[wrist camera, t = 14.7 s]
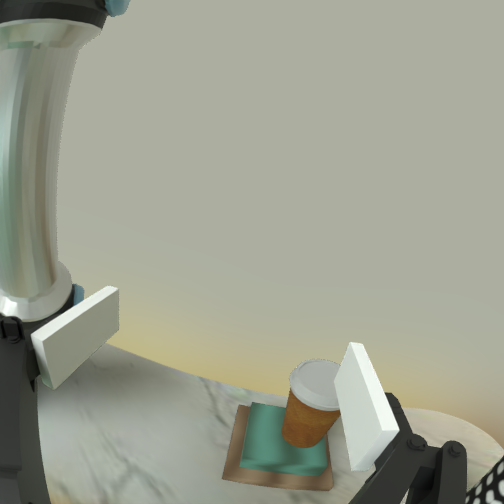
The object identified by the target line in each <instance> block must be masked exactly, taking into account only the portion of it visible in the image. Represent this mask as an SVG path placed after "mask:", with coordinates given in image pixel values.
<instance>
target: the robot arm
mask: <svg viewBox="0 0 504 504" xmlns="http://www.w3.org/2000/svg"><path fill="white" fill-rule="evenodd" d="M129 2H130V0H0V504H51V502H50V498H49V494H48V489H47V484H46V479H45V474H44V468H43V462H42V455H41V447H40V438H39V427H38V409H37V381H36V377H37V376H38V375H39V374H40V375H41V379H42V382H43V384H45V385H46V386H48V387H49V388H51V389H53V390H55V389H56V388H57V387H58V386H59V385H60V384H61V383H62V382H63V381H64V380H66V379H67V378H68V377H69V376H70V375H71V374H72V373H73V372H74V371H75V370H76V369H77V368H78V367H79V366H80V365H81V364H82V363H83V362H84V361H86V360H87V359H88V358H89V357H90V356H91V355H92V354H93V353H94V352H95V351H96V350H97V349H98V348H99V347H101V346H102V345H103V344H104V343H105V342H106V341H107V340H108V339H109V338H110V337H111V336H112V335H113V334H114V333H116V332H117V331H118V330H119V289H118V288H115V287H112V286H109V285H108V286H106V287H105V288H103V289H101V290H100V291H98V292H97V293H95V294H93V295H92V296H90V297H88V298H87V299H85V300H84V289H83V288H82V287H81V286H79V285H76V284H72V281H71V275H70V273H69V271H68V269H67V268H66V267H65V266H64V265H63V264H62V263H61V262H60V261H58V251H57V228H56V193H57V172H58V158H59V148H60V140H61V132H62V125H63V119H64V112H65V107H66V102H67V97H68V92H69V87H70V83H71V79H72V75H73V70H74V67H75V63H76V60H77V56H78V53H79V50H80V49H81V48H82V47H83V46H84V45H85V44H87V43H88V42H89V41H91V40H92V39H94V38H95V37H97V36H98V35H100V33H101V31H102V28H103V25H104V23H105V20H106V18H107V16H108V15H110V16H111V17H115V16H117V15H122V14H124V13H125V11H126V10H127V8H128V5H129ZM334 384H335V389H336V393H337V398H338V403H339V407H340V412H341V417H342V422H343V427H344V432H345V437H346V442H347V448H348V453H349V459H350V464H351V470H352V471H368V470H369V469H370V467H371V466H372V465H373V464H374V463H375V467H376V470H375V472H374V473H373V474H372V475H371V476H370V477H369V478H368V479H367V480H366V481H365V484H364V486H363V487H362V488H361V489H360V491H359V492H358V493H357V494H356V495H355V497H354V498H353V499H352V500H351V501H350V502H349V504H400V502H401V501H402V499H403V497H404V496H405V494H406V492H407V490H408V489H409V492H408V496H407V500H406V504H466V488H467V453H466V449H465V448H464V446H463V445H462V444H461V443H459V442H457V441H447V442H446V443H445V444H444V445H443V446H442V447H441V448H438V447H432V446H428V445H427V442H426V441H425V439H424V438H422V437H421V436H420V435H417V434H413V432H412V430H411V428H410V425H409V423H408V421H407V418H406V416H405V414H404V412H403V410H402V408H401V405H400V403H399V401H398V399H397V398H396V397H395V396H394V395H393V394H392V393H385V392H384V391H383V389H382V386H381V384H380V382H379V379H378V377H377V375H376V373H375V370H374V368H373V366H372V364H371V361H370V359H369V357H368V355H367V353H366V351H365V348H364V346H363V344H360V343H353V342H350V343H349V345H348V348H347V351H346V353H345V356H344V358H343V360H342V363H341V365H340V368H339V370H338V372H337V375H336V377H335V379H334Z"/></svg>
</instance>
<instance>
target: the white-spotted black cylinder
mask: <svg viewBox="0 0 504 504" xmlns="http://www.w3.org/2000/svg"><path fill="white" fill-rule="evenodd" d="M466 504H504V456H503V457H502V458H501V459H500V460H499V461H498V462H497V463H496V465H495V466H494V467H493V468H492V469H491V470H490V471H489V472H488V473H487V474H486V475H485V476H484V477H483V478H482V479H481V480H480V481H479V482H478V483H477V484H476V485H475V486H474V487H472V488H471V489H470V490H469V491H468V492H467V493H466Z"/></svg>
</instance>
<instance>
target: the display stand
mask: <svg viewBox="0 0 504 504" xmlns="http://www.w3.org/2000/svg"><path fill="white" fill-rule="evenodd" d="M285 412H286V408H283V407H277V406H271V405H265V404H260V403H254V402H252V405H251V407H248V406H244V405H239V406H238V410H237V415H236V419H235V424H234V428H233V433H232V437H231V442H230V446H229V450H228V455H227V459H226V463H225V467H224V472H223V476H222V479H225V480H230V481H235V482H240V483H246V484H252V485H259V486H267V487H275V488H285V489H297V490H319V491H329V490H330V489H331V488H332V487H333V481H332V471H331V462H330V454H329V445H328V438H327V432H326V434H325V435H324V436H323V437H322V438H321V440H320V441H319V442H318V443H317V444H316V445H315V446H313V447H309V448H299V447H295V446H293V445H291V444H289V443H288V442H287V441H286V440H285V439H284V438H283V436H282V432H281V430H282V426H283V421H284V418H285V417H284V416H285Z"/></svg>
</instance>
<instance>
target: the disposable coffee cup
mask: <svg viewBox="0 0 504 504" xmlns="http://www.w3.org/2000/svg"><path fill="white" fill-rule="evenodd" d="M339 368H340V365H339V364H337V363H335V362H331V361H328V360H322V359H321V360H320V359H311V360H306V361H304V362H302V363H300V364H299V365H298V366H297V368H296V369H294V370H293V371H292V373H291V375H290V379H289V380H290V386H291V387H290V394H289V397H288V402H287V407H286V412H285V416H284V417H285V418H284V421H283V426H282V430H281V432H282V436H283V438H284V439H285V440H286V441H287V442H288V443H289V444H291V445H293V446H295V447H299V448H309V447H313V446H315V445H316V444H317V443H318V442H319V441H320V440H321V438H322V437H323V436H324V435H325V434H326V432H327V431H328V430H329V429H330V427H331V426H332V425H333V424H334V422H335V421H336V420H337V419H338V417H339V416H340V415H341V412H340V407H339V403H338V398H337V393H336V389H335V384H334V379H335V377H336V375H337V372H338V370H339Z"/></svg>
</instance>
